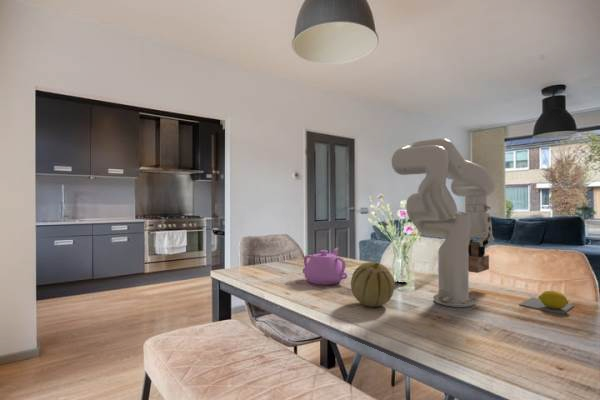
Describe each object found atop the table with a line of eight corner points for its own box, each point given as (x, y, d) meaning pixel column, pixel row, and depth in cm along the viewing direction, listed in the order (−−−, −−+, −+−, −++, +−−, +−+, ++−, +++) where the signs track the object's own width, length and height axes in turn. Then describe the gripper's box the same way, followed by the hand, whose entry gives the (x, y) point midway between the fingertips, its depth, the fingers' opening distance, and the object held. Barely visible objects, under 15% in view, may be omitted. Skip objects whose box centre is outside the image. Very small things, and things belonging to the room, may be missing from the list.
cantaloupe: (366, 296, 128) (366, 256, 128) (403, 305, 118) (402, 261, 118) (341, 305, 118) (341, 261, 118) (378, 316, 107) (378, 267, 107)
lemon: (540, 306, 116) (570, 311, 110) (535, 305, 113) (566, 311, 107) (541, 289, 117) (570, 294, 111) (536, 287, 114) (567, 292, 108)
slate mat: (563, 314, 107) (562, 313, 107) (519, 305, 116) (519, 304, 116) (573, 306, 115) (573, 305, 115) (532, 298, 124) (531, 297, 124)
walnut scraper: (476, 267, 141) (475, 240, 141) (489, 269, 138) (488, 241, 137) (464, 270, 135) (464, 242, 135) (477, 272, 131) (477, 243, 131)
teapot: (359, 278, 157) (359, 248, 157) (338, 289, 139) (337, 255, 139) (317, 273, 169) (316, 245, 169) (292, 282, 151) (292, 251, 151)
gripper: (502, 209, 132) (502, 257, 132) (459, 208, 145) (460, 252, 145) (494, 209, 127) (494, 260, 127) (450, 209, 140) (451, 254, 140)
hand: (476, 255), depth 136 cm, fingers closed on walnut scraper, 3 cm apart
